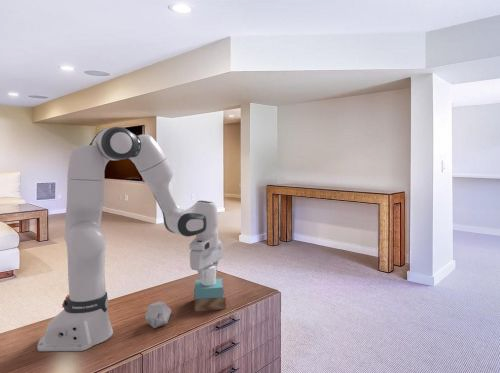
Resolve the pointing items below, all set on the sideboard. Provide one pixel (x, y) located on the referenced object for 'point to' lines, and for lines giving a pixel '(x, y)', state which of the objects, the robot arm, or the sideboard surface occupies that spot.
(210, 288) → the tower top block
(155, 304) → the die
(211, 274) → the white rimmed cylinder
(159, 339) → the sideboard surface
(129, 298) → the sideboard surface
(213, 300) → the tower base block
